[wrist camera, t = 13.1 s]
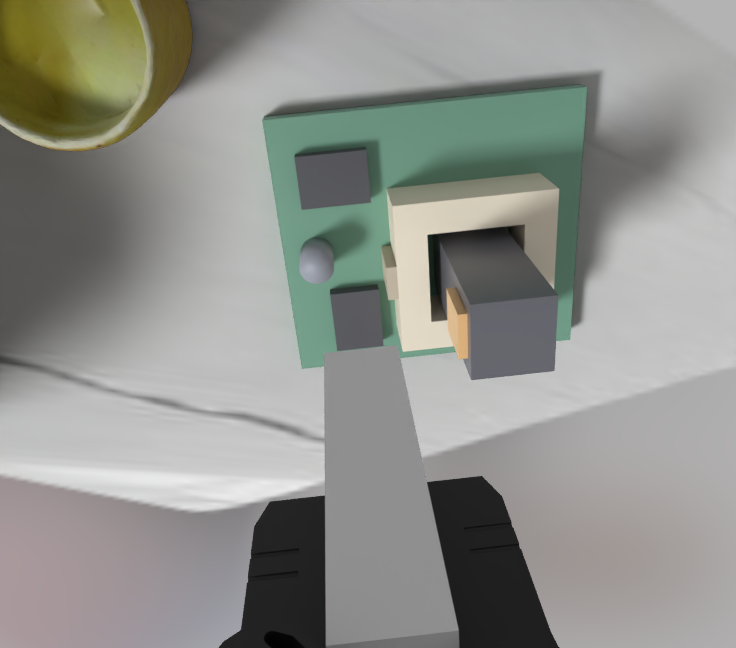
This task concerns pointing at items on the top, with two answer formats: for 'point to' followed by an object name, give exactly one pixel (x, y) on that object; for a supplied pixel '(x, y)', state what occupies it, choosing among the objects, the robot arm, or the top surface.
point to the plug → (495, 303)
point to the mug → (88, 67)
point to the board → (421, 161)
